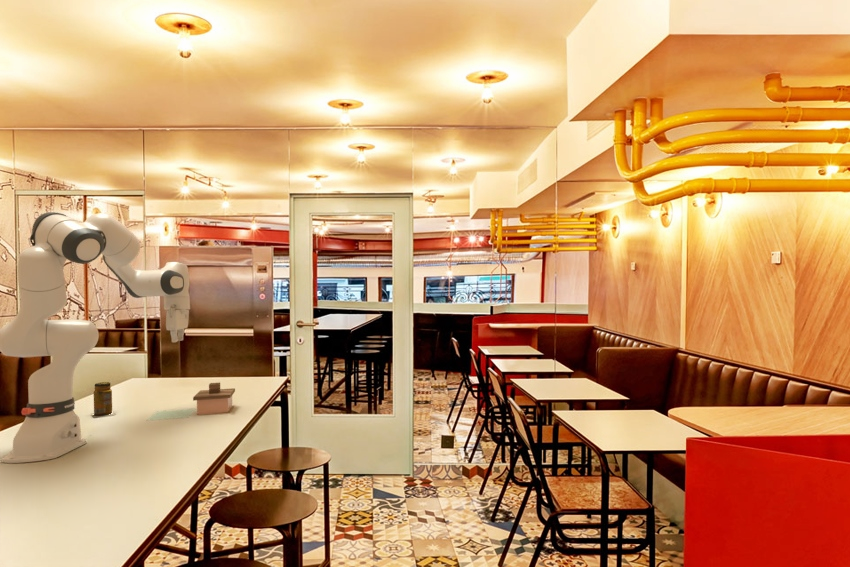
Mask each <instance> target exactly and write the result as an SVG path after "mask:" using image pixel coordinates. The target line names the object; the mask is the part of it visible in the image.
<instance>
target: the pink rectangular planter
mask: <svg viewBox="0 0 850 567" xmlns="http://www.w3.org/2000/svg"><path fill="white" fill-rule="evenodd" d="M232 407H233V395H232V396H231V398H225V399H210V400H196V415H197V416H199V415H212V414H215V415H216V414H226V413H227V414H228V413H229V412H230V411H231V409H232Z"/></svg>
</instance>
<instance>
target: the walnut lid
mask: <svg viewBox="0 0 850 567" xmlns="http://www.w3.org/2000/svg"><path fill="white" fill-rule="evenodd" d="M235 392H236V388H221V382H210V383H209V384H208V389H203V390H199V391H198V392H197V393H196V394H195V395H194V396H193V397H192V399H193V400H192V401H197V400H210V399H225V398H231V396H232V397H233V395H234V394H235Z"/></svg>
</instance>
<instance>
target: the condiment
mask: <svg viewBox="0 0 850 567" xmlns="http://www.w3.org/2000/svg"><path fill="white" fill-rule="evenodd" d="M111 387H112V386H111V382H110V381H103V382H97V383H95V384H94V391H93V413H92V412H91V413H90V415H91V416H92V414H94V415H93V416H92V417H93V418H104V417H108V416H116V412H114V413H113V414H111V413H112V411H113V391H112V389H111ZM109 414H110V415H109Z"/></svg>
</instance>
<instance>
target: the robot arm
mask: <svg viewBox="0 0 850 567" xmlns="http://www.w3.org/2000/svg"><path fill="white" fill-rule="evenodd" d="M139 240H140V239H138V237H137V236H136V235H135V233H133V232H132V231H131V230H130V229H129V228H128V227H127V226H126V225H124V224H123V223H122V222H120V221H119V220H117V219H116V218H115V217H113V216H111V215H110V214H107V213H103V212H99V213H94V214H91V215H90V216H88V217H87V218H86V219H85V221H83V222H80V221H78V220H77V219H74V218H72V217H69V216H68V215H66V214H64V213H61V212H55V211H53V212H52V211H51V212H44V213H41V214H40V215H39V216H38V217H36V219H35V221H34V222H33V225H32V229H31V235H30V237H29V241H30V243H31V245H32V246H29V247H27V248H25V249H23V250H22V251H21V252H20V254H19V256H18V262H17V281H18V283H17V284H18V288H19V298H20V307H19V310H18V313H17V314H16V315H15V317H14V318H13V319H12V320H10V321H9V322H7V323H6V324H4V325H3V326H2V327H1V328H0V352H1V354H3V355H4V356H5V357H12V358H13V357H15V358H34V357H35V358H36V357H47V356H49V357H52V360H51V363H49V364H47V365H45V366H43V367H41V368H39V369H37V370H36V371H34V372H33V373H32V374H30V376H29V379H28V380H27V383H28V384H27V386H28V387H27V389H28V402H27V403H26V407H23V408H22V409H21V412H20V413H21V415H22V416H25V418H24V421H23V422H22V424H21V426H20V427H19V429H18V430H17V433H16V434H15V435H14V437H13V441H12V450H11V451H9V452H8V454H6V455H5V456H4V457H3V458H2V461H1V462H2V463H5V464H18V463H30V462H31V463H33V462H40V461H46V460H47V461H48V460H51V459H52V460H53V459H56V458H58V457H61V456H63V455H65V454H67V453H70V452H72V451H73V450H75V449H77V448H79V447H81V446H83V445H85V444H87V439H85V438H82V429H81V418H80V416H79V415H77V413H76V412H75V411H74V410H75V409H76V408H75V404H76V402H75V398H74V397H73V380H74V373H75V370H76V368H77V365H78V363H79V362H80V361H81V359H83V357H84V356H85V355H87V354H88V353H89V352H90V351H92V350H93V349H94V348H95V347H96V345H97V344H98V341H99V336H100V334H99V330H98V328H97V325H95V323H93V322H92V321H91V320H85V319H76V318H68V319H48V318H50V317H52V316H54V315H57V314H59V313H60V312H61V311H62V310H63V309H65V307H66V306H67V302H68V298H67V290H66V289H67V288H66V281H65V273H64V268H65V263H66V261H67V260H68V261H70V262H72V263H75V264H81V265H82V264H83V265H84V264H90V263H91V262H93V261H95V260H96V259H98V258H99V257H100V256H101V254H102V260H103V262H104V264H105V265H106V266H107V268H108V269H109V270H110V271H111V272H112V273H113V275H114V276H115V277H116V278H117V279H118V280H119V281H120V282H121V284H123V286H124V288H125V290H126V292H127V293H128V294H129V295H130V296H131V297H132V298H134V299H139V298H140V299H141V298H142V299H143V298H147V297H148V298H149V297H151V298H152V297H163V306H164V307H163V309H164V311H165V310H166V315H165V328H166V331H170V332H169V333H170V337H171V338H170V339H171V343H177V342H181V341H182V342H183V341H184V334H185V329H188V327H189V320H190V318H189V317H190V316H189V315H190V310H191V301H190V298H191V297H190V296H191V295H190V293H189V289H190V274H189V268H188V265H187V264H186V263H184V262H181V261H168V262H166V263H165V265H164V266H163V267H162V268H159V269H152V270H149V269H148V270H143V269H142V270H141V269H136V268H134V267H133V266H132V265H131V263H132V262H134V261H135V260H136V259H137V257H138V256H139V254H140V251H141V243H140V241H139Z"/></svg>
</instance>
